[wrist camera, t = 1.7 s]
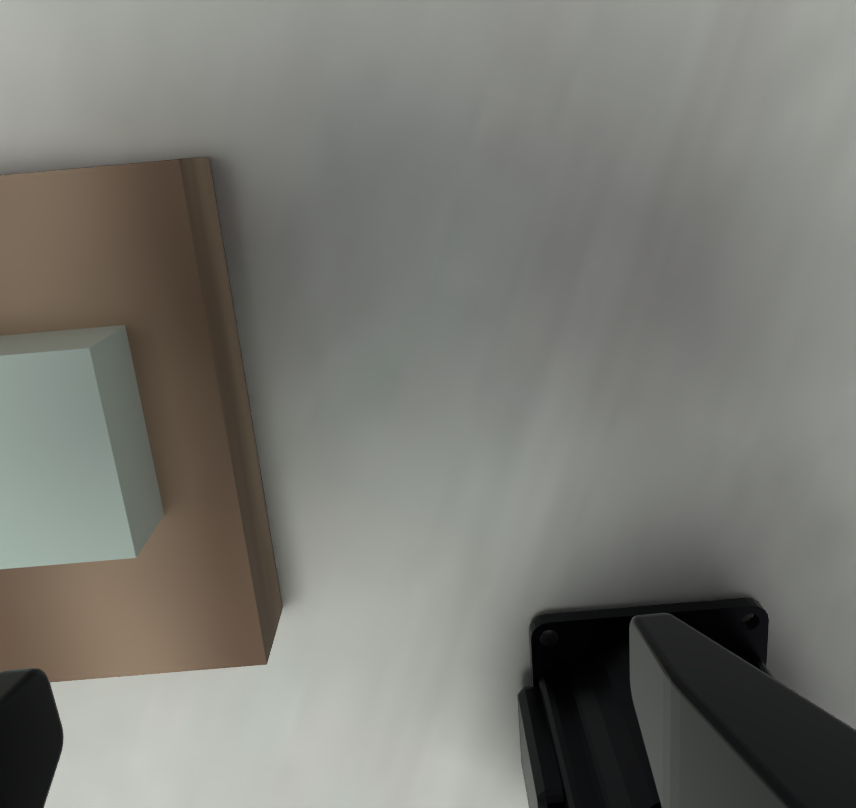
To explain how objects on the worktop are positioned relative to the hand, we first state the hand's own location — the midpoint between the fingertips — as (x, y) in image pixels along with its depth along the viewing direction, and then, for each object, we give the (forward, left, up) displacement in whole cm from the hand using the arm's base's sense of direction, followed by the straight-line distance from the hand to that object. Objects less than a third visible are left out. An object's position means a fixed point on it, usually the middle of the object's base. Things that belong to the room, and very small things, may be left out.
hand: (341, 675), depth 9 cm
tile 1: (+7, 0, -10) cm, 12 cm away
